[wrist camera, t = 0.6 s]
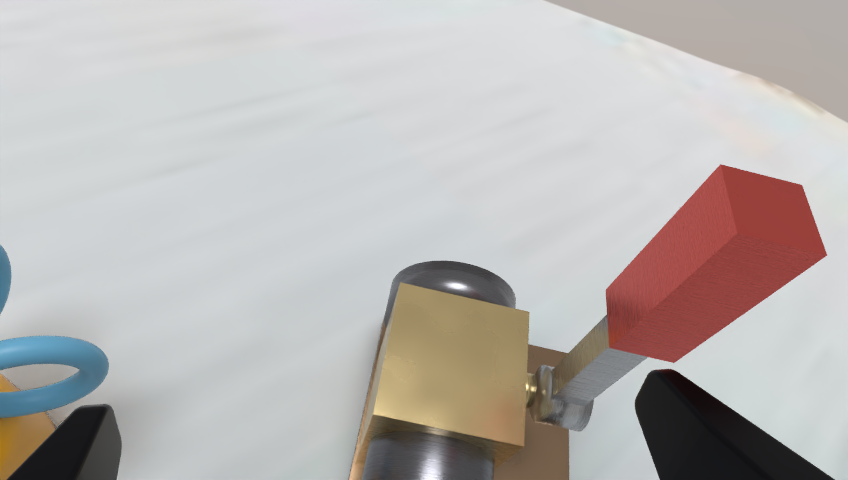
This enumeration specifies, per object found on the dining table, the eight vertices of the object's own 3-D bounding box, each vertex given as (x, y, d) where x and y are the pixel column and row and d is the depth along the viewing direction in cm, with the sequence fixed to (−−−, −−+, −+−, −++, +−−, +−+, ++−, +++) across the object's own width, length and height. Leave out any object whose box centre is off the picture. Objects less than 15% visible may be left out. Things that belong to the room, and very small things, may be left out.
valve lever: (570, 438, 20) (828, 259, 10) (522, 428, 20) (738, 237, 10) (570, 385, 21) (800, 181, 11) (525, 376, 21) (720, 160, 11)
